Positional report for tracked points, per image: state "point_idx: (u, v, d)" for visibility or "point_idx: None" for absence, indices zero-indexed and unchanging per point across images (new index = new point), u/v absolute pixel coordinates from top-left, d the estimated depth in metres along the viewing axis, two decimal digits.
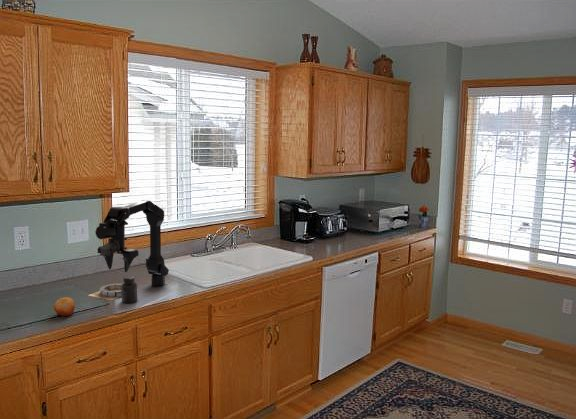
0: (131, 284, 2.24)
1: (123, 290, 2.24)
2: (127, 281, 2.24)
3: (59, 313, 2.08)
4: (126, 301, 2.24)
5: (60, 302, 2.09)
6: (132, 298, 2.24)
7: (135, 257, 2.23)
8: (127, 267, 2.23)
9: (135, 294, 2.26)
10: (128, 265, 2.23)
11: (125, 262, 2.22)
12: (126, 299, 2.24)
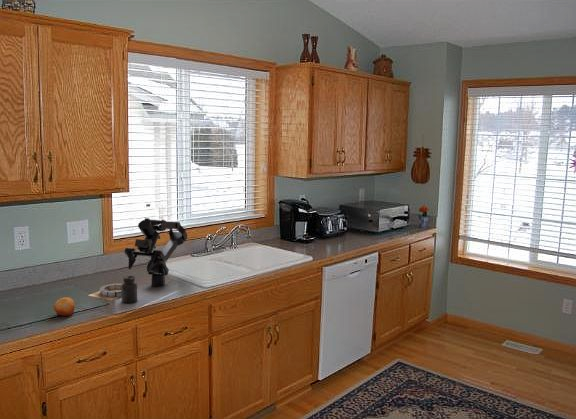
0: (131, 284, 2.24)
1: (123, 290, 2.24)
2: (127, 281, 2.24)
3: (59, 313, 2.08)
4: (126, 301, 2.24)
5: (60, 302, 2.09)
6: (132, 298, 2.24)
7: (160, 261, 2.36)
8: (150, 267, 2.33)
9: (135, 294, 2.26)
10: (151, 266, 2.34)
11: (151, 260, 2.33)
12: (126, 299, 2.24)
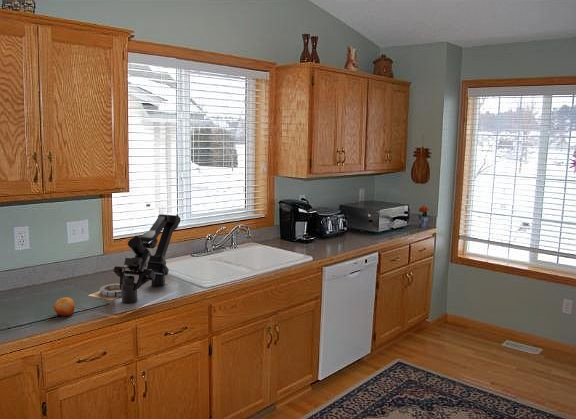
0: (131, 284, 2.24)
1: (123, 290, 2.24)
2: (127, 281, 2.24)
3: (59, 313, 2.08)
4: (126, 301, 2.24)
5: (60, 302, 2.09)
6: (132, 298, 2.24)
7: (148, 280, 2.29)
8: (138, 286, 2.25)
9: (135, 294, 2.26)
10: (139, 285, 2.26)
11: (139, 279, 2.26)
12: (126, 299, 2.24)
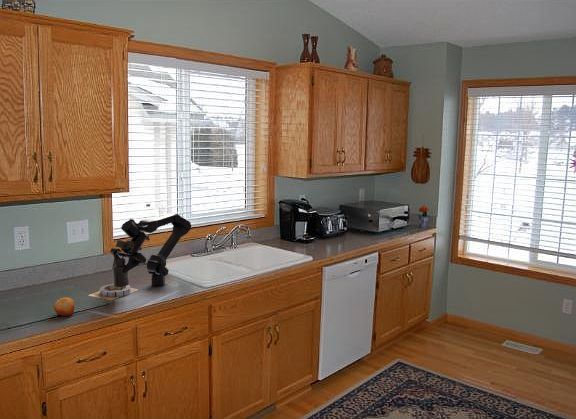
0: (120, 266, 2.28)
1: (113, 272, 2.28)
2: (116, 263, 2.28)
3: (59, 313, 2.08)
4: (115, 282, 2.28)
5: (60, 302, 2.09)
6: (121, 281, 2.28)
7: (139, 264, 2.31)
8: (127, 269, 2.29)
9: (124, 276, 2.29)
10: (129, 267, 2.29)
11: (128, 262, 2.29)
12: (116, 281, 2.28)
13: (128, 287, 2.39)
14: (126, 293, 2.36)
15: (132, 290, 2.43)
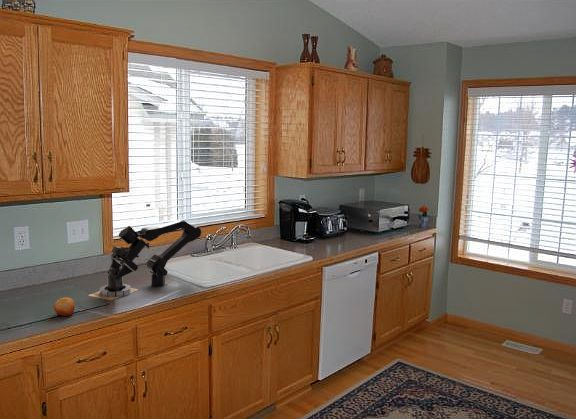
0: (113, 275, 2.35)
1: (107, 279, 2.36)
2: (110, 271, 2.35)
3: (59, 313, 2.08)
4: (108, 290, 2.36)
5: (60, 302, 2.09)
6: (113, 289, 2.35)
7: (131, 271, 2.34)
8: (119, 275, 2.33)
9: (117, 285, 2.35)
10: (121, 274, 2.33)
11: (121, 269, 2.33)
12: (109, 288, 2.35)
13: (128, 287, 2.39)
14: (126, 293, 2.36)
15: (132, 290, 2.43)
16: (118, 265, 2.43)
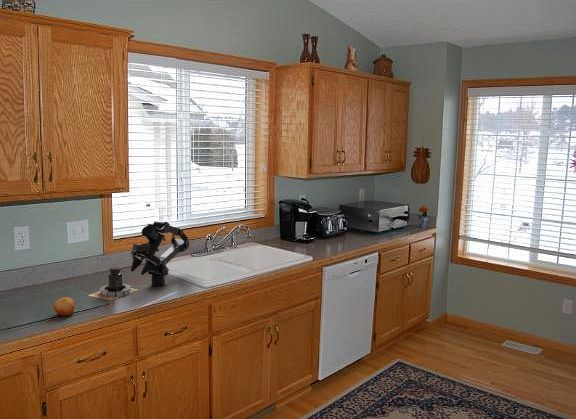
0: (113, 275, 2.35)
1: (107, 279, 2.36)
2: (110, 271, 2.35)
3: (59, 313, 2.08)
4: (108, 290, 2.36)
5: (60, 302, 2.09)
6: (113, 289, 2.35)
7: (155, 265, 2.40)
8: (144, 271, 2.39)
9: (117, 285, 2.35)
10: (146, 269, 2.39)
11: (145, 264, 2.38)
12: (109, 288, 2.35)
13: (128, 287, 2.39)
14: (126, 293, 2.36)
15: (132, 290, 2.43)
16: (139, 261, 2.48)
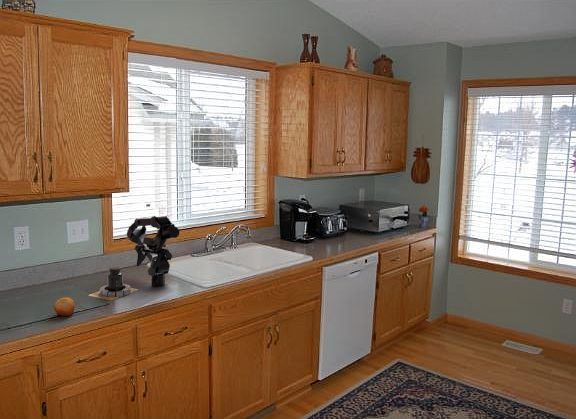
0: (113, 275, 2.35)
1: (107, 279, 2.36)
2: (110, 271, 2.35)
3: (59, 313, 2.08)
4: (108, 290, 2.36)
5: (60, 302, 2.09)
6: (113, 289, 2.35)
7: (167, 260, 2.38)
8: (156, 265, 2.35)
9: (117, 285, 2.35)
10: (158, 264, 2.36)
11: (157, 259, 2.35)
12: (109, 288, 2.35)
13: (128, 287, 2.39)
14: (126, 293, 2.36)
15: (132, 290, 2.43)
16: (143, 257, 2.43)
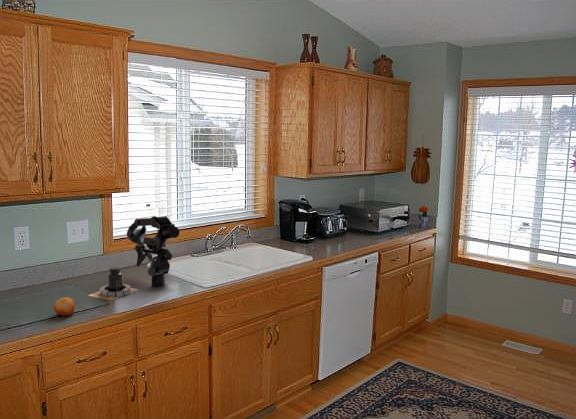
0: (113, 275, 2.35)
1: (107, 279, 2.36)
2: (110, 271, 2.35)
3: (59, 313, 2.08)
4: (108, 290, 2.36)
5: (60, 302, 2.09)
6: (113, 289, 2.35)
7: (167, 260, 2.38)
8: (156, 265, 2.35)
9: (117, 285, 2.35)
10: (158, 264, 2.36)
11: (157, 259, 2.35)
12: (109, 288, 2.35)
13: (128, 287, 2.39)
14: (126, 293, 2.36)
15: (132, 290, 2.43)
16: (144, 257, 2.43)
